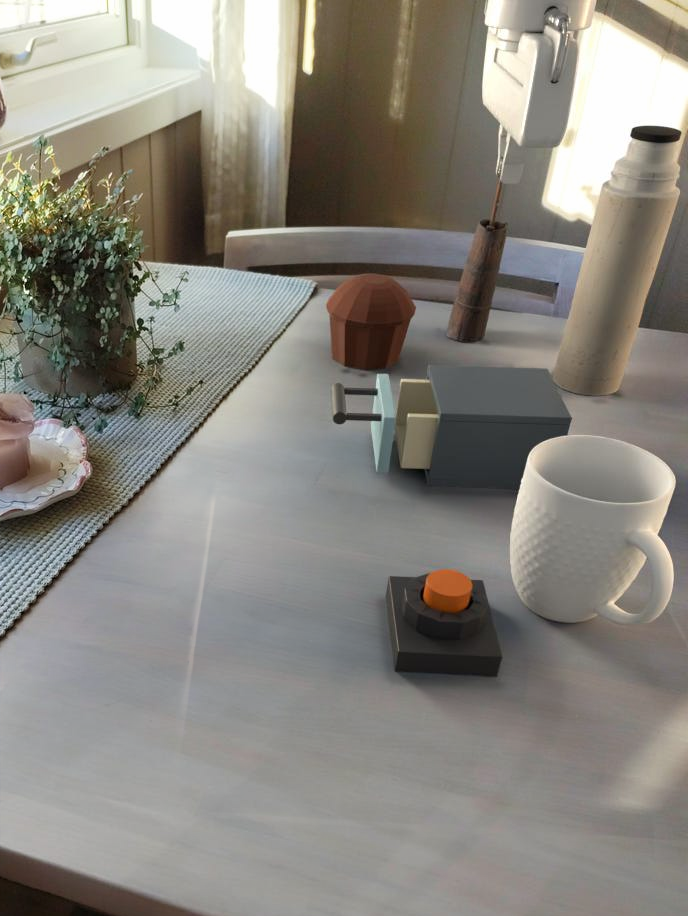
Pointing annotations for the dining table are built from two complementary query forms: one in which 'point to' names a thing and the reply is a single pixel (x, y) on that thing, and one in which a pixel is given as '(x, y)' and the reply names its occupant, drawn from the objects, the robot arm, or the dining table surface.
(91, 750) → the dining table surface
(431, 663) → the control block
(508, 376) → the dispenser
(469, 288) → the butter churn
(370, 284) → the muffin
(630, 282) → the thermos bottle
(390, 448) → the tray
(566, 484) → the mug
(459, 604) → the button
